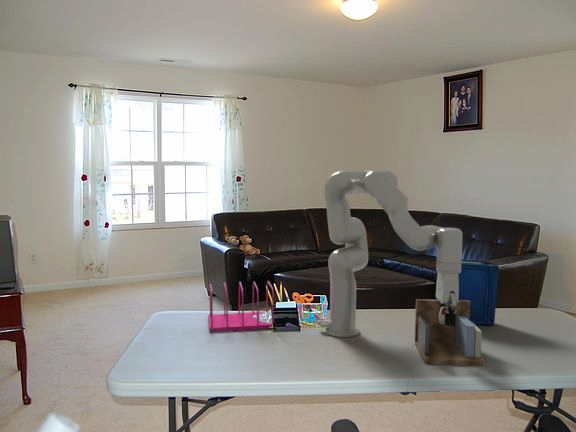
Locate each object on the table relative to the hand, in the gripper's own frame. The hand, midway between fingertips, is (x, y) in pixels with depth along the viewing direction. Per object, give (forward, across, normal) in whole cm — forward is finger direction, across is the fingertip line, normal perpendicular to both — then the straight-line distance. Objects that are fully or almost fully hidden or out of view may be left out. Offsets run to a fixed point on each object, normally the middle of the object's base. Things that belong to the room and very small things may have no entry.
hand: (446, 321), depth 159 cm
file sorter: (+12, -30, -71) cm, 79 cm away
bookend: (+11, -4, -7) cm, 13 cm away
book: (+12, -38, +18) cm, 44 cm away
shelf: (+12, -3, +1) cm, 13 cm away
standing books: (+11, -4, +8) cm, 14 cm away
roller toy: (+1, 0, 0) cm, 1 cm away
